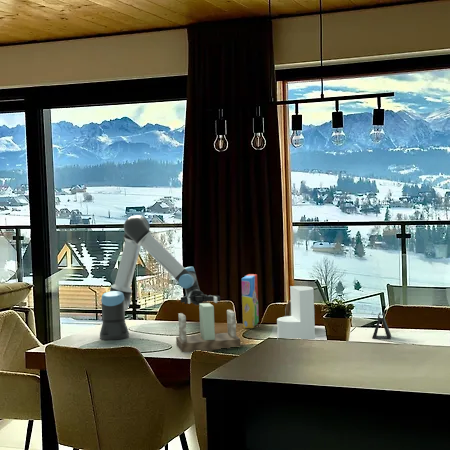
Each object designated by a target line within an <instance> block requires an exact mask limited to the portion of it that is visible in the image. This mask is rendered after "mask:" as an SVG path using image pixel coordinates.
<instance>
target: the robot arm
mask: <svg viewBox="0 0 450 450" xmlns="http://www.w3.org/2000/svg"><path fill="white" fill-rule="evenodd" d="M123 231H124V234H123V239H124V241H125V242H124V246H123V249H122V253H121V258H120V262H119V265H118V269H117V273H116V277H115V281H114V283H113V284H111V286H110V289H109V291H107V292H103V294H102V295H101V300H100V301H101V314H102V315H101V317H102V324H101V327H100V331H99V339H100V340H106V341H107V340H108V341H111V340H112V341H113V340H123V339H127V338H129V336H130V331H129V329H128V325H127V324H126V323H127V322H126V315H125V314H126V313H125V312H126V311H127V310H128V309H129V307H130V306H131V296H132V293H133V290H132V288H131V285H132V282H133V278H134V275H135V270H136V266H137V263H138V258H139V255H140V251H141V248H143V249H144V250H145V251H146V252H147V253H148V254H149V255H150V256H151V257H153V259H154V260H155V261H156V262H157V263H159V265H160V266H161V267H163V268H164V269H165V271H167V273H169V274H170V276H172V277H173V278H174V279H175V281H176V282H177V283H178V284H179V286H180V288H182V289H184V290H185V296H182V297H181V296H180V303H184V304H185V305H187V304H189V305H190V304H191V303H192V304H193V305H194V306H199V304H200V303H208V302H213V303H215V304H217V303H218V302H221V295H218V294H214V295H211V294H209V295H207V294H204V292H203V291H201V290H200V286H199V282H198V278H197V274H196V271H195V268H194V266H187V267H184V266H183V265H182V264H181V263H180V262H179V260H177V259H176V258H175V257H174V256H173V255H172V253H170V252H169V251H168V250H167V249H166V248H165V247H164V246H163V245H162V243H160V242H159V241H158V240H157V239H156V238H155V237H154V236H153V235H152V232H151V230H150V221H149V220H148V219H147V218H146V217H145V216H143V215H139V214H135V215H131V216H130V217H128V218H126V220H125V221H124V223H123Z"/></svg>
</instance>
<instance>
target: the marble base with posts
mask: <svg viewBox="0 0 450 450" xmlns="http://www.w3.org/2000/svg"><path fill="white" fill-rule="evenodd" d="M177 314H178V336H176V337H175V339H176V341H175V343H176V346H177V348H178V349H179V350H180V352H181V353H189V352H195V351H194V350H203V351H214V350H222V349H221V348H227V349H231V348H230V347H237V346H241V338H240V337H238V336H237V321H236V320H237V319H236V312H235V311H233V310H232V309H227V310H226V322H227V325H226V327H227V332H220V333H218V332H217V333H215V340H204V339H203V338H202V337H201V336H200V334H193V335H187V317H186V315H185V314H184V313H183V312H180V313H177Z"/></svg>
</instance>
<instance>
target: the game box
mask: <svg viewBox="0 0 450 450" xmlns="http://www.w3.org/2000/svg"><path fill="white" fill-rule="evenodd" d="M241 305H242V307H241V308H242V328H243V329H254V328H255V326H257V324H258V323H259V322H260V321H259V318H260V317H259V288H258V274H256V273H255V274H254V273H248V274H246V275H244V277H242V278H241Z"/></svg>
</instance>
